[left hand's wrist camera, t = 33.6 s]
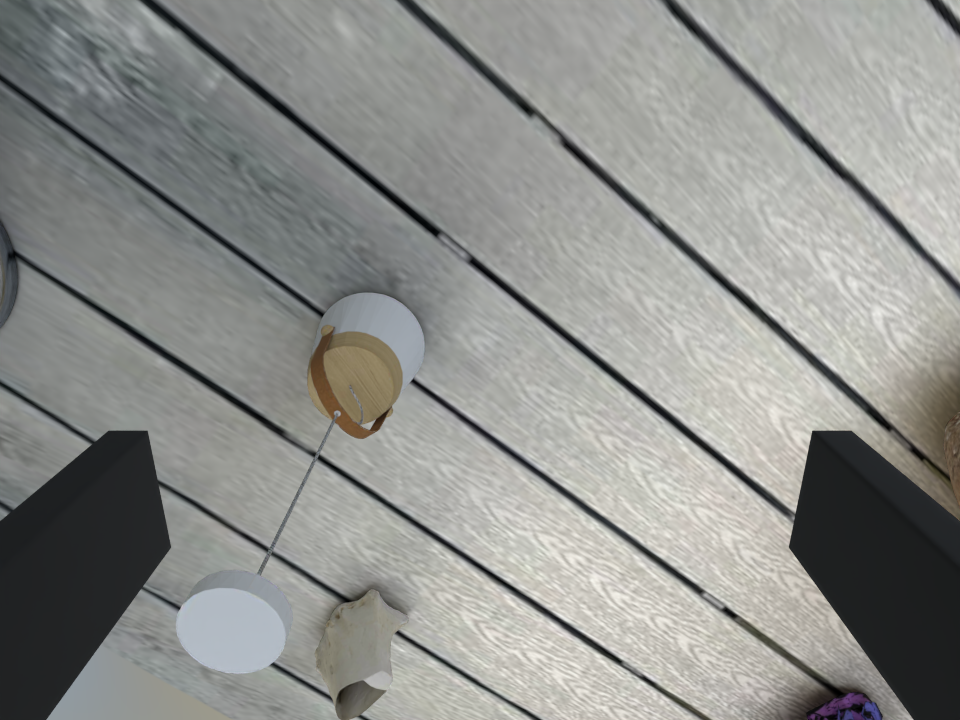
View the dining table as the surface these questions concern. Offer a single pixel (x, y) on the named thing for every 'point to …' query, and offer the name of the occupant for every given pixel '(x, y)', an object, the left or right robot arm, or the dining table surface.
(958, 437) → the pot
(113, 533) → the left robot arm
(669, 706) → the dining table surface
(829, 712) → the decorative ornament
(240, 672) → the pendant light
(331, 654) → the bone
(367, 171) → the dining table surface
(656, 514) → the dining table surface
